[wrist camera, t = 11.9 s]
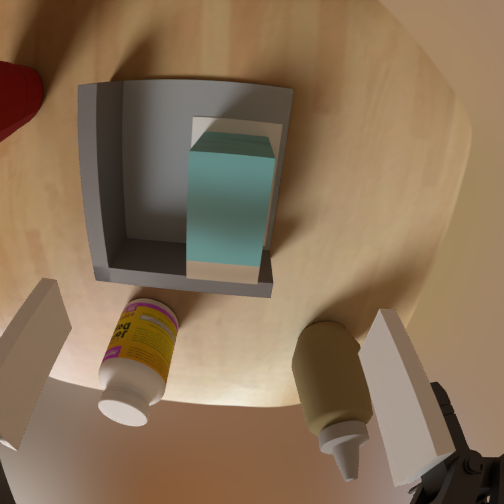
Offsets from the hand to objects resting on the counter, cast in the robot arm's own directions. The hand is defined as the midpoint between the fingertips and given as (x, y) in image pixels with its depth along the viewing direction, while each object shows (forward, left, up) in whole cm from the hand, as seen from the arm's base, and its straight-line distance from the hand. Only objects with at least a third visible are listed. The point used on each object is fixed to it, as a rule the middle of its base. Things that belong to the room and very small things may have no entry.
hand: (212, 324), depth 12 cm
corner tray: (0, -3, -17) cm, 17 cm away
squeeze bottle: (+18, +12, -17) cm, 27 cm away
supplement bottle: (+17, -8, -17) cm, 25 cm away
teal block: (0, 0, -16) cm, 16 cm away
